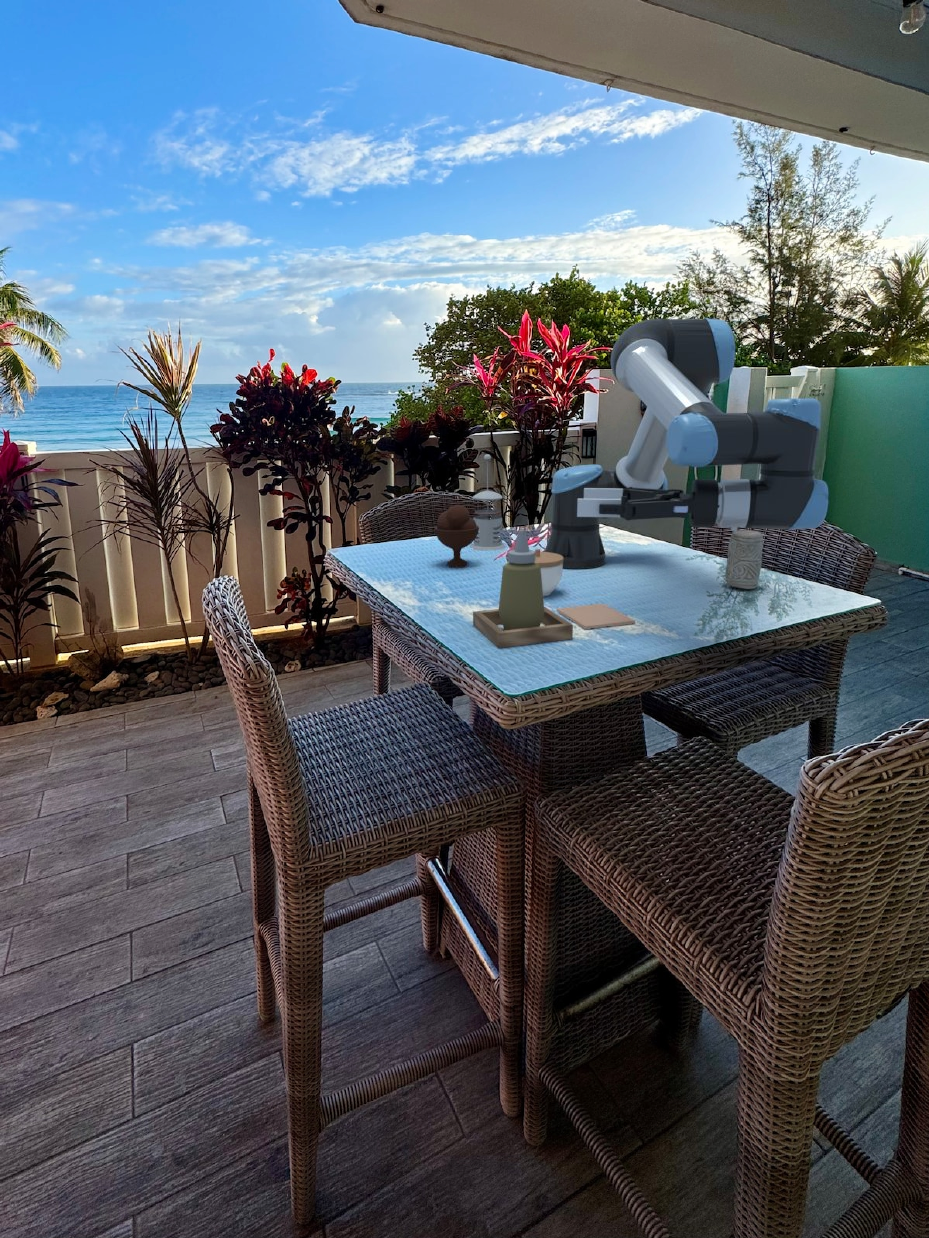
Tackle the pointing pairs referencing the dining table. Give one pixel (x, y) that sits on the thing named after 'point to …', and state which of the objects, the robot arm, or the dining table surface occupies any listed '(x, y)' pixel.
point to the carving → (744, 559)
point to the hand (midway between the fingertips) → (580, 501)
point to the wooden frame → (551, 632)
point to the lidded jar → (549, 570)
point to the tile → (595, 616)
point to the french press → (488, 521)
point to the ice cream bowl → (456, 532)
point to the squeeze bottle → (521, 588)
